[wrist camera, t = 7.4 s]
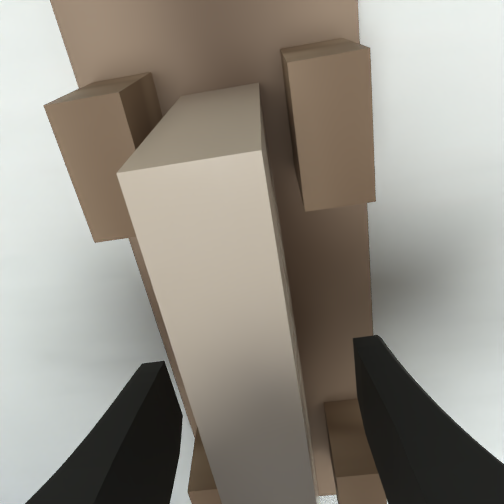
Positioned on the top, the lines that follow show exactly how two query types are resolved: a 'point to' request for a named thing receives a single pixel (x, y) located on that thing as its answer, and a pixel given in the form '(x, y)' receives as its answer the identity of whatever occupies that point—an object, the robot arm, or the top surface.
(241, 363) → the clay strip
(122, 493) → the robot arm
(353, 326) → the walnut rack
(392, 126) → the top surface
